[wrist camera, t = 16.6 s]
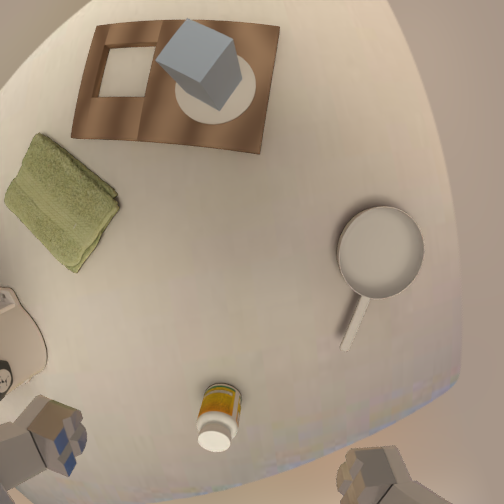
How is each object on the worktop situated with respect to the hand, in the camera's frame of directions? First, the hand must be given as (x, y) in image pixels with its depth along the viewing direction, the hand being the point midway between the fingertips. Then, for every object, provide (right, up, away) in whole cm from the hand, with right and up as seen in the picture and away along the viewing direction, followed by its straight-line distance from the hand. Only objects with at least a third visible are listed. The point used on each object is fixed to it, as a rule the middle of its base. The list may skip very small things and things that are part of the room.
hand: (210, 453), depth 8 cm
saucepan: (+15, +3, +31) cm, 34 cm away
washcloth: (-25, +13, +30) cm, 41 cm away
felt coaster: (-3, +24, +24) cm, 34 cm away
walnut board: (-9, +26, +26) cm, 38 cm away
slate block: (-3, +24, +24) cm, 34 cm away
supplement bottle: (-3, -15, +35) cm, 38 cm away
